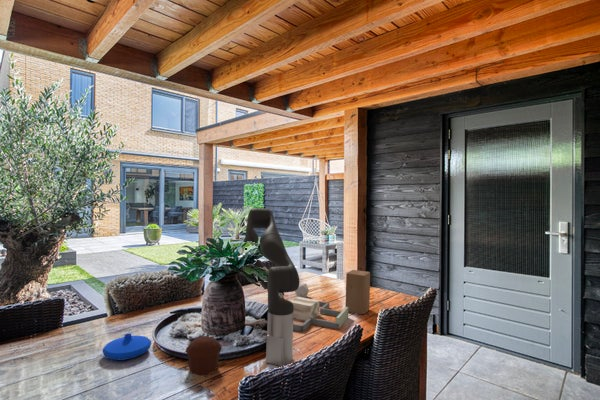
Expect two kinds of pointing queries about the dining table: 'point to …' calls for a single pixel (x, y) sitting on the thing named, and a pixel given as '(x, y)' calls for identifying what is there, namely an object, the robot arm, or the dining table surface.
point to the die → (302, 290)
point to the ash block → (305, 308)
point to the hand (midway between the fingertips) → (285, 305)
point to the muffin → (203, 355)
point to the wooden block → (357, 291)
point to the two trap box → (323, 310)
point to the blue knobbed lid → (126, 347)
